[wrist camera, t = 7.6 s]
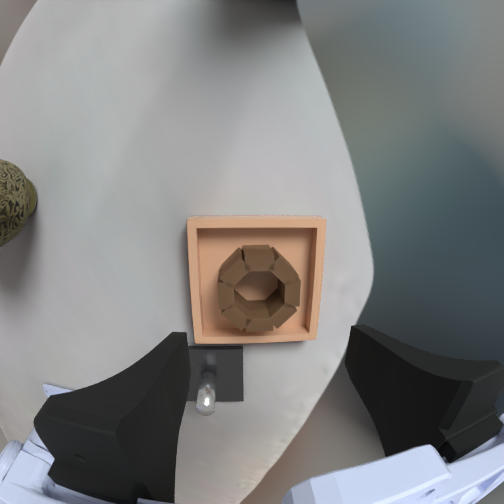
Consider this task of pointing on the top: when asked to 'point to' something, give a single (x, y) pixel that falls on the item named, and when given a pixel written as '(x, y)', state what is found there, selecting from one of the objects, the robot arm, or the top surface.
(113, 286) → the top surface
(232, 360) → the stand
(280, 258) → the ring
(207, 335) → the dish
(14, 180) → the cup
